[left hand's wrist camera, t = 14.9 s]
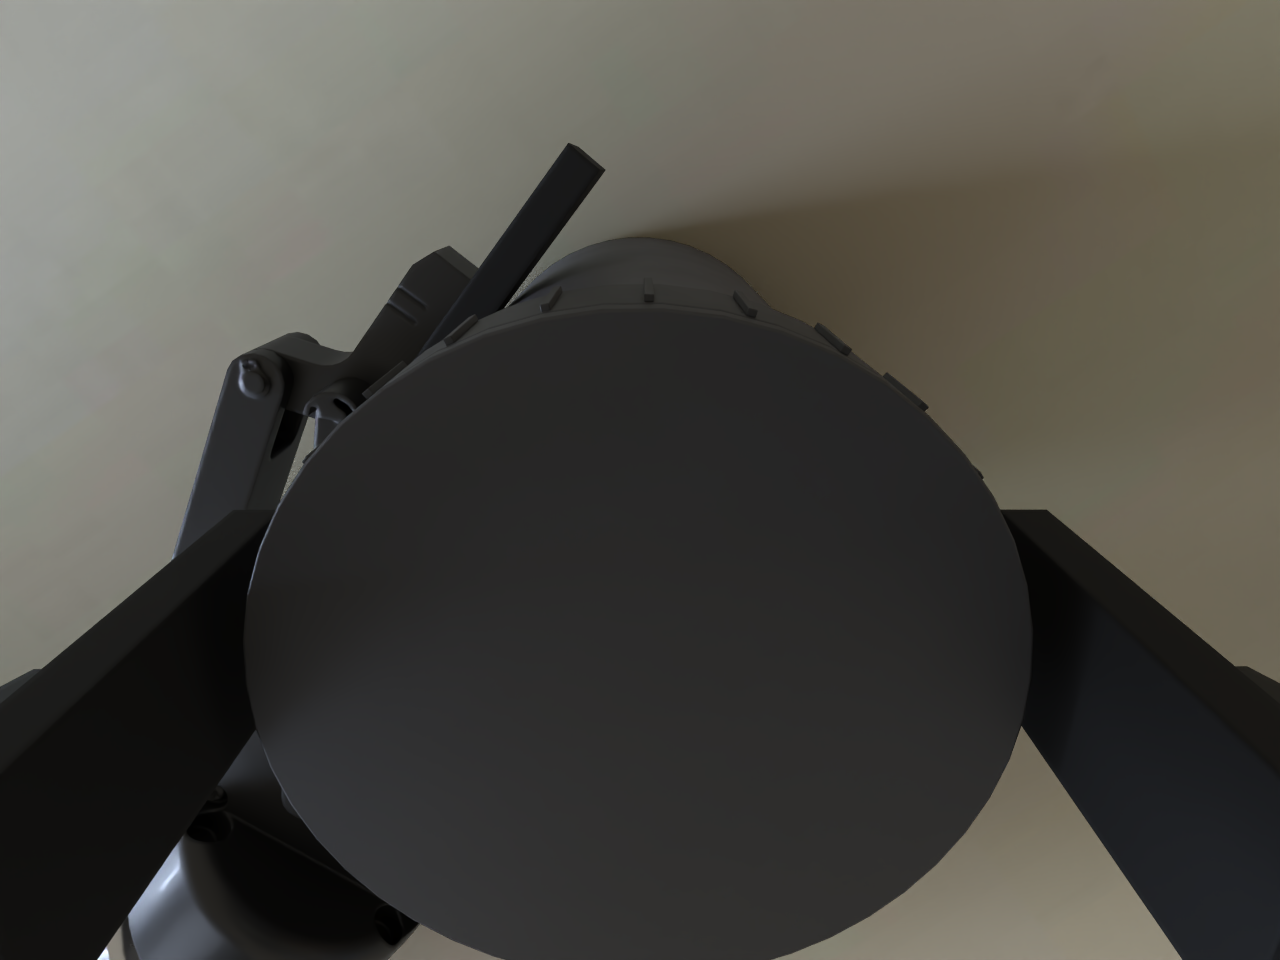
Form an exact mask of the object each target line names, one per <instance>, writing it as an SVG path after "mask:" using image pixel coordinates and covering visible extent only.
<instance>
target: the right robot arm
mask: <svg viewBox="0 0 1280 960" xmlns="http://www.w3.org/2000/svg"><path fill="white" fill-rule="evenodd" d="M604 172H605V169H604V168H603V167H602V166H600V165H599V164H598V163H597V162H596V161H594V160H593V159H592V158H591V157H590V156H589V155H587V154H586V153H585V152H584V151H583V150H582V149H580V148H579V147H577V146H575V145H572V144H570V143H568V144H567V146H566V147H565V148H564V150H563V151H562V153H561V154H560V155H559V157H558V158H557V160H556V161H555V162H554V164H553V165H552V167H551V168H550V169H549V171H548V172H547V174H546V175H545V176H544V178H543V179H542V181H541V182H540V183H539V185H538V186H537V188H536V189H535V190H534V192H533V193H532V195H531V196H530V197H529V199H528V200H527V202H526V203H525V204H524V206H523V207H522V209H521V210H520V212H519V213H518V214H517V216H516V217H515V219H514V220H513V221H512V223H511V224H510V226H509V227H508V228H507V230H506V231H505V233H504V234H503V235H502V237H501V238H500V240H499V241H498V242H497V244H496V245H495V247H494V248H493V249H492V251H491V252H490V254H489V255H488V256H487V258H486V259H485V261H484V262H483V263H482V265H481V266H480V268H477V267H476V266H475V265H473V264H472V263H471V262H470V261H468V260H467V259H466V258H464V257H463V256H462V255H461V254H459V253H458V252H457V251H456V250H454V249H453V248H452V247H450V246H447V247H445V248H442V249H440V250H437V251H435V252H433V253H431V254H430V255H428V256H426V257H425V258H423V259H421V260H420V261H418V262H417V263H415V264H413V265H412V267H411V268H410V269H409V271H408V272H407V274H406V275H405V277H404V278H403V280H402V281H401V283H400V284H399V286H398V288H397V289H396V290H395V291H394V293H393V294H392V296H391V297H390V299H389V300H388V302H387V304H386V305H385V306H384V307H383V309H382V310H381V312H380V313H379V315H378V316H377V318H376V319H375V321H374V322H373V324H372V325H371V326H370V328H369V329H368V331H367V332H366V334H365V335H364V337H363V338H362V340H361V341H360V343H359V344H358V345H357V347H356V348H355V350H354V351H353V352H342V351H337V350H334V349H331V348H327V347H324V346H321V345H320V344H319V343H318V342H317V340H315V339H314V338H312V337H311V336H309V335H308V334H304V333H300V332H295V333H288V334H286V335H284V336H282V337H279V338H277V339H275V340H273V341H271V342H269V343H266V344H264V345H262V346H260V347H258V348H256V349H253V350H251V351H249V352H247V353H245V354H243V355H241V356H239V357H238V358H236V359H235V360H233V361H232V362H231V364H230V366H229V368H228V370H227V373H226V376H225V379H224V383H223V386H222V390H221V393H220V397H219V400H218V403H217V407H216V410H215V414H214V417H213V420H212V424H211V427H210V431H209V434H208V437H207V441H206V444H205V448H204V451H203V455H202V458H201V461H200V465H199V468H198V472H197V475H196V478H195V482H194V485H193V489H192V492H191V495H190V499H189V502H188V506H187V509H186V513H185V516H184V519H183V523H182V526H181V530H180V533H179V536H178V540H177V543H176V547H175V550H174V553H173V557H172V560H174V559H175V558H176V557H177V556H178V555H180V554H181V553H182V552H183V551H184V550H186V549H187V548H188V547H189V546H190V545H192V544H193V543H194V542H195V541H196V540H198V539H199V538H200V537H201V536H202V535H204V534H205V533H206V532H207V531H208V530H210V529H211V528H212V527H213V526H214V525H216V524H217V523H218V522H219V521H220V520H222V519H223V518H224V517H225V516H226V515H228V514H229V513H230V512H231V511H232V510H276V508H277V506H278V504H279V502H280V499H281V496H282V493H283V490H284V487H285V484H286V481H287V478H288V475H289V472H290V469H291V466H292V463H293V460H294V457H295V454H296V451H297V448H298V445H299V442H300V440H301V437H302V434H303V431H304V428H305V425H306V422H307V419H308V416H309V417H312V418H315V435H314V449H315V448H316V447H317V446H319V445H320V444H321V443H322V442H323V441H324V440H325V439H326V438H327V437H328V435H329V434H330V433H331V432H332V431H333V430H334V429H335V428H336V426H337V425H338V424H339V423H340V422H341V421H342V420H344V419H345V418H346V417H347V416H348V415H350V414H351V413H352V412H353V411H354V410H355V409H357V408H358V407H359V406H360V405H361V404H363V403H364V402H365V401H366V400H367V399H366V397H365V396H364V395H363V394H362V393H363V392H364V391H365V390H367V389H368V388H369V387H370V386H372V385H373V384H374V383H375V382H377V381H378V380H379V379H380V378H382V377H383V376H384V375H385V374H387V373H388V372H389V371H390V370H392V369H393V368H394V367H395V366H397V365H398V364H399V363H400V362H402V361H404V362H405V363H406V364H407V366H408V365H409V364H410V363H411V362H413V361H414V360H415V359H416V358H417V357H419V356H420V355H421V354H422V353H423V352H425V351H426V350H427V349H429V348H431V347H432V346H434V345H436V344H437V343H439V342H440V341H442V340H443V339H444V338H445V337H446V336H447V335H449V334H450V333H451V332H452V331H453V330H454V329H456V328H457V327H458V326H459V325H460V324H461V323H463V322H464V321H465V320H466V319H467V318H469V317H470V316H472V315H474V314H476V316H477V318H478V320H480V319H482V318H484V317H486V316H489V315H491V314H493V313H495V312H498V311H500V310H502V309H504V307H505V306H506V305H507V303H508V302H509V301H510V299H511V298H512V296H513V295H514V294H515V292H516V291H517V290H518V288H519V287H520V286H521V284H522V283H523V282H524V280H525V279H526V277H527V276H528V275H529V273H530V272H531V271H532V269H533V268H534V267H535V265H536V264H537V263H538V261H539V260H540V258H541V257H542V256H543V254H544V253H545V252H546V250H547V249H548V248H549V246H550V245H551V244H552V242H553V241H554V239H555V238H556V237H557V235H558V234H559V233H560V231H561V230H562V229H563V227H564V226H565V225H566V223H567V222H568V220H569V219H570V218H571V216H572V215H573V214H574V212H575V211H576V210H577V208H578V207H579V206H580V204H581V203H582V201H583V200H584V199H585V197H586V196H587V195H588V193H589V192H590V191H591V189H592V188H593V187H594V185H595V184H596V182H597V181H598V180H599V178H600V177H601V176H602V174H603V173H604ZM172 560H171V561H172ZM419 924H420V923H418V922H416V921H414V920H413V919H411V918H410V917H408V916H407V915H405V914H404V913H402V912H400V911H399V910H397V909H396V908H394V907H393V906H391V905H390V904H388V903H387V902H385V901H384V900H382V899H381V898H379V897H378V896H377V895H375V894H374V893H373V892H372V891H371V890H369V889H368V888H367V887H366V886H365V885H363V884H362V883H361V882H360V881H359V880H357V879H356V878H355V877H354V876H353V875H351V874H350V873H349V872H348V871H347V870H345V869H344V867H343V866H342V865H341V864H340V863H339V862H338V861H337V860H336V859H335V858H334V857H333V856H332V855H331V854H330V853H329V852H328V851H327V850H326V848H325V847H324V846H323V845H322V844H321V843H320V842H319V841H318V840H317V839H316V838H315V836H314V835H313V834H312V832H311V831H310V830H309V828H308V827H307V825H306V824H305V823H304V821H303V820H302V819H301V817H300V816H299V815H298V813H297V812H296V811H295V809H294V808H293V806H292V805H291V804H290V802H289V800H288V798H287V796H286V794H285V793H284V791H283V789H282V787H281V785H280V784H279V782H278V780H277V778H276V776H275V774H274V773H273V771H272V769H271V767H270V765H269V762H268V759H267V757H266V754H265V751H264V749H263V746H262V744H261V741H260V738H259V736H258V733H257V730H255V732H254V733H253V734H252V736H251V737H250V739H249V740H248V742H247V743H246V745H245V746H244V748H243V749H242V750H241V752H240V753H239V755H238V756H237V758H236V759H235V761H234V762H233V763H232V765H231V766H230V768H229V769H228V771H227V772H226V774H225V775H224V777H223V778H222V779H221V781H220V782H219V784H218V785H217V787H216V788H215V790H214V791H213V793H212V794H211V795H210V797H209V798H208V800H207V801H206V803H205V804H204V806H203V807H202V809H201V810H200V811H199V813H198V814H197V816H196V817H195V819H194V820H193V822H192V823H191V825H190V826H189V827H188V829H187V830H186V832H185V833H184V835H183V836H182V838H181V839H180V840H179V842H178V843H177V845H176V846H175V848H174V849H173V851H172V852H171V854H170V855H169V856H168V858H167V859H166V861H165V862H164V864H163V865H162V867H161V868H160V870H159V871H158V872H157V874H156V875H155V877H154V878H153V880H152V881H151V883H150V884H149V886H148V887H147V888H146V890H145V891H144V893H143V894H142V896H141V897H140V899H139V900H138V902H137V903H136V904H135V906H134V907H133V909H132V910H131V912H130V913H129V915H128V916H127V917H126V919H125V920H124V922H123V923H122V925H121V926H120V928H119V929H118V931H117V932H116V933H115V935H114V936H113V938H112V939H111V941H110V942H109V944H108V945H107V947H106V948H105V949H104V951H103V952H102V954H101V955H100V957H99V958H98V960H388V959H389V958H390V957H391V956H392V955H393V954H394V952H395V951H396V950H397V949H398V948H399V947H400V946H401V945H402V944H403V943H404V942H405V941H406V940H407V939H408V938H409V937H410V935H411V934H412V933H413V932H414V931H415V929H416V928H417V927H418V926H419Z"/></svg>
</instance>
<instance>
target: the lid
mask: <svg viewBox="0 0 1280 960" xmlns="http://www.w3.org/2000/svg"><path fill="white" fill-rule="evenodd" d="M851 350H852V349H851V348H850V347H849V346H847V345H846V344H845V343H844V342H843V341H841V340H840V339H839V338H838V337H837V336H835V335H834V334H833V333H832V332H831V331H829V330H828V329H827V328H826V327H825V326H823V325H821V324H820V323H817V325H816V326H815V328H813V327H811V326H810V325H808V324H806V323H805V322H803V321H800V320H798V319H796V318H793V317H791V316H788V315H786V314H783V313H781V312H779V311H776V310H774V309H771V308H769V307H767V306H764V305H762V304H759V303H756V302H753V301H750V300H749V299H748V298H747V297H746V296H745V295H744V293H743V292H741V291H737V290H735V291H734V294H733V296H730V295H726V294H722V293H718V292H715V291H711V290H704V289H696V288H688V287H680V286H672V285H663V284H653V281H652V278H644V284H615V285H602V286H595V287H589V288H582V289H575V290H568V291H562V288H561V286H556V287H553V288H552V289H551V291H550V292H549V293H548V295H546V296H543V297H539V298H536V299H532V300H529V301H525V302H522V303H518V304H515V305H511V306H509V307H507V308H504V309H502V310H500V311H498V312H495V313H493V314H491V315H489V316H486V317H484V318H482V319H480V320H478V318H477V316H476V314H474V315H472V316H470V317H469V318H467V319H466V320H465V321H464V322H463V323H461V324H460V325H459V326H458V327H457V328H456V329H454V330H453V331H452V332H451V333H450V334H449V335H447V336H446V337H445V338H444V339H443V340H442V341H440V342H439V343H437V344H436V345H434V346H432V347H431V348H429V349H427V350H426V351H425V352H423V353H422V354H421V355H420V356H419V357H417V358H416V359H415V360H414V361H413V362H411V363H410V364H409V365H408V366H407V364H406V363H405V362H404V361H402V362H400V363H399V364H398V365H397V366H395V367H394V368H393V369H392V370H390V371H389V372H388V373H387V374H385V375H384V376H383V377H382V378H380V379H379V380H378V381H377V382H375V383H374V384H373V385H372V386H370V387H369V388H368V389H367V390H365V391H364V392H363V393H362V394H363V395H364V396H365V397H366V399H367V400H366V401H365V402H364V403H363V404H361V405H360V406H359V407H358V408H357V409H355V410H354V411H353V412H352V413H351V414H350V415H348V416H347V417H346V418H345V419H344V420H342V421H341V422H340V423H339V424H338V425H337V426H336V428H335V429H334V430H333V431H332V432H331V433H330V434H329V435H328V437H327V438H326V439H325V440H324V441H323V442H322V443H321V444H320V445H319V446H317V447H316V448H315V449H314V450H313V451H312V452H310V453H309V454H308V455H307V456H306V457H305V459H304V460H303V463H304V465H303V466H302V468H301V469H300V471H299V472H298V474H297V476H296V477H295V479H294V480H293V482H292V483H291V485H290V487H289V488H288V490H287V491H286V493H285V494H284V496H283V498H282V499H281V501H280V502H279V504H278V506H277V508H276V510H275V513H274V515H273V517H272V520H271V522H270V524H269V526H268V529H267V531H266V533H265V536H264V538H263V540H262V543H261V545H260V547H259V550H258V554H257V558H256V562H255V566H254V569H253V573H252V577H251V581H250V585H249V589H248V593H247V602H246V612H245V623H244V634H243V649H244V664H245V680H246V688H247V692H248V697H249V701H250V706H251V710H252V715H253V719H254V724H255V728H256V730H257V733H258V736H259V738H260V741H261V744H262V746H263V749H264V751H265V754H266V757H267V759H268V762H269V765H270V767H271V769H272V771H273V773H274V774H275V776H276V778H277V780H278V782H279V784H280V785H281V787H282V789H283V791H284V793H285V794H286V796H287V798H288V800H289V802H290V804H291V805H292V806H293V808H294V809H295V811H296V812H297V813H298V815H299V816H300V817H301V819H302V820H303V821H304V823H305V824H306V825H307V827H308V828H309V830H310V831H311V832H312V834H313V835H314V836H315V838H316V839H317V840H318V841H319V842H320V843H321V844H322V845H323V846H324V847H325V848H326V850H327V851H328V852H329V853H330V854H331V855H332V856H333V857H334V858H335V859H336V860H337V861H338V862H339V863H340V864H341V865H342V866H343V867H344V869H345V870H347V871H348V872H349V873H350V874H351V875H353V876H354V877H355V878H356V879H357V880H359V881H360V882H361V883H362V884H363V885H365V886H366V887H367V888H368V889H369V890H371V891H372V892H373V893H374V894H375V895H377V896H378V897H379V898H381V899H382V900H384V901H385V902H387V903H388V904H390V905H391V906H393V907H394V908H396V909H397V910H399V911H400V912H402V913H404V914H405V915H407V916H408V917H410V918H411V919H413V920H414V921H416V922H418V923H420V924H422V925H424V926H426V927H428V928H430V929H432V930H433V931H435V932H437V933H439V934H441V935H443V936H445V937H447V938H449V939H451V940H453V941H455V942H458V943H461V944H463V945H466V946H468V947H471V948H473V949H476V950H478V951H481V952H484V953H486V954H489V955H491V956H494V957H498V958H501V959H505V960H772V959H775V958H778V957H782V956H785V955H788V954H792V953H794V952H796V951H799V950H801V949H804V948H806V947H809V946H811V945H813V944H816V943H818V942H821V941H823V940H825V939H828V938H830V937H832V936H834V935H836V934H838V933H840V932H842V931H843V930H845V929H847V928H849V927H851V926H853V925H855V924H856V923H858V922H860V921H862V920H864V919H866V918H868V917H869V916H871V915H872V914H874V913H875V912H877V911H878V910H880V909H881V908H882V907H884V906H885V905H887V904H888V903H890V902H891V901H893V900H894V899H896V898H897V897H898V896H900V895H901V894H903V893H904V892H905V891H907V890H908V889H909V888H910V887H911V886H912V885H913V884H915V883H916V882H917V881H918V880H919V879H920V878H922V877H923V876H924V875H925V874H926V873H927V872H928V871H930V870H931V869H932V868H933V867H934V866H935V865H937V863H938V862H939V861H940V860H941V859H942V858H943V857H944V856H945V855H946V854H947V852H948V851H949V850H950V849H951V848H952V847H953V846H954V845H955V844H956V842H957V841H958V840H959V839H960V838H961V837H962V836H963V835H964V834H965V832H966V831H967V830H968V828H969V827H970V825H971V824H972V822H973V821H974V820H975V818H976V817H977V815H978V814H979V812H980V811H981V810H982V808H983V807H984V805H985V804H986V802H987V801H988V800H989V798H990V796H991V794H992V792H993V791H994V789H995V787H996V785H997V783H998V781H999V779H1000V777H1001V775H1002V773H1003V771H1004V769H1005V767H1006V765H1007V763H1008V762H1009V759H1010V757H1011V754H1012V751H1013V748H1014V745H1015V742H1016V739H1017V737H1018V734H1019V731H1020V728H1021V725H1022V722H1023V719H1024V714H1025V709H1026V704H1027V698H1028V693H1029V688H1030V683H1031V677H1032V652H1033V626H1032V618H1031V610H1030V601H1029V593H1028V585H1027V582H1026V579H1025V575H1024V572H1023V568H1022V565H1021V561H1020V558H1019V554H1018V551H1017V547H1016V544H1015V541H1014V538H1013V536H1012V534H1011V532H1010V530H1009V528H1008V526H1007V524H1006V521H1005V519H1004V517H1003V515H1002V513H1001V511H1000V509H999V507H998V504H997V502H996V500H995V498H994V496H993V495H992V493H991V492H990V490H989V489H988V487H987V486H986V484H985V483H984V481H983V480H982V479H983V478H984V477H983V476H982V474H981V472H980V471H979V470H978V469H977V468H975V467H974V466H973V465H972V464H971V462H970V461H969V459H968V458H967V456H966V455H965V454H964V453H963V452H962V451H961V450H960V448H959V447H958V446H957V445H956V444H955V443H954V442H953V441H952V440H951V439H950V438H949V437H948V436H947V435H946V433H945V432H944V431H943V430H942V429H941V428H940V427H939V426H938V425H937V424H936V423H935V422H934V421H933V419H932V418H931V417H930V416H929V415H927V414H926V413H925V412H924V411H925V410H926V409H928V406H927V405H926V404H925V403H924V402H923V401H922V400H921V399H919V398H918V397H917V396H916V395H914V394H913V393H912V392H911V391H909V390H908V389H907V388H906V387H905V386H903V385H902V384H901V383H900V382H898V381H897V380H896V379H895V378H893V377H892V376H891V375H890V374H889V373H886V374H885V375H884V376H883V377H882V376H881V375H880V374H879V373H878V372H876V371H875V370H874V369H873V368H871V367H870V366H869V365H868V364H866V363H865V362H864V361H863V360H861V359H860V358H859V357H858V356H856V355H855V354H854V353H853V352H851Z"/></svg>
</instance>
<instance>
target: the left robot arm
mask: <svg viewBox="0 0 1280 960" xmlns="http://www.w3.org/2000/svg"><path fill="white" fill-rule="evenodd" d="M1000 511H1001V513H1002V515H1003V517H1004V519H1005V521H1006V524H1007V526H1008V528H1009V530H1010V532H1011V534H1012V536H1013V538H1014V541H1015V544H1016V547H1017V551H1018V554H1019V558H1020V561H1021V565H1022V568H1023V572H1024V575H1025V579H1026V582H1027V585H1028V593H1029V601H1030V610H1031V618H1032V626H1033V652H1032V677H1031V683H1030V688H1029V693H1028V698H1027V704H1026V709H1025V714H1024V719H1023V722H1022V725H1021V726H1022V727H1023V729H1024V730H1025V732H1026V733H1027V734H1028V736H1029V737H1030V739H1031V740H1032V742H1033V743H1034V745H1035V746H1036V748H1037V749H1038V750H1039V752H1040V753H1041V755H1042V756H1043V758H1044V759H1045V761H1046V762H1047V763H1048V765H1049V766H1050V768H1051V769H1052V771H1053V772H1054V774H1055V775H1056V777H1057V778H1058V779H1059V781H1060V782H1061V784H1062V785H1063V787H1064V788H1065V790H1066V791H1067V793H1068V794H1069V795H1070V797H1071V798H1072V800H1073V801H1074V803H1075V804H1076V806H1077V807H1078V809H1079V810H1080V811H1081V813H1082V814H1083V816H1084V817H1085V819H1086V820H1087V822H1088V823H1089V825H1090V826H1091V827H1092V829H1093V830H1094V832H1095V833H1096V835H1097V836H1098V838H1099V839H1100V840H1101V842H1102V843H1103V845H1104V846H1105V848H1106V849H1107V851H1108V852H1109V854H1110V855H1111V856H1112V858H1113V859H1114V861H1115V862H1116V864H1117V865H1118V867H1119V868H1120V870H1121V871H1122V872H1123V874H1124V875H1125V877H1126V878H1127V880H1128V881H1129V883H1130V884H1131V886H1132V887H1133V888H1134V890H1135V891H1136V893H1137V894H1138V896H1139V897H1140V899H1141V900H1142V902H1143V903H1144V904H1145V906H1146V907H1147V909H1148V910H1149V912H1150V913H1151V915H1152V916H1153V917H1154V919H1155V920H1156V922H1157V923H1158V925H1159V926H1160V928H1161V929H1162V931H1163V932H1164V933H1165V935H1166V936H1167V938H1168V939H1169V941H1170V942H1171V944H1172V945H1173V947H1174V948H1175V949H1176V951H1177V952H1178V954H1179V955H1180V957H1181V958H1182V960H1280V683H1278V682H1276V681H1274V680H1272V679H1270V678H1268V677H1266V676H1265V675H1263V674H1261V673H1259V672H1257V671H1255V670H1253V669H1251V668H1249V667H1247V666H1234V665H1233V664H1232V663H1230V662H1229V661H1228V660H1227V659H1226V658H1224V657H1223V656H1222V655H1221V654H1219V653H1218V652H1217V651H1216V650H1215V649H1213V648H1212V647H1211V646H1210V645H1209V644H1207V643H1206V642H1205V641H1204V640H1203V639H1201V638H1200V637H1199V636H1198V635H1197V634H1195V633H1194V632H1193V631H1192V630H1191V629H1189V628H1188V627H1187V626H1186V625H1185V624H1183V623H1182V622H1181V621H1180V620H1179V619H1177V618H1176V617H1175V616H1174V615H1173V614H1171V613H1170V612H1169V611H1168V610H1167V609H1165V608H1164V607H1163V606H1162V605H1161V604H1159V603H1158V602H1157V601H1156V600H1155V599H1153V598H1152V597H1151V596H1150V595H1149V594H1147V593H1146V592H1145V591H1144V590H1143V589H1141V588H1140V587H1139V586H1138V585H1137V584H1135V583H1134V582H1133V581H1132V580H1131V579H1129V578H1128V577H1127V576H1126V575H1125V574H1123V573H1122V572H1121V571H1120V570H1119V569H1117V568H1116V567H1115V566H1114V565H1113V564H1111V563H1110V562H1109V561H1108V560H1106V559H1105V558H1104V557H1103V556H1102V555H1100V554H1099V553H1098V552H1097V551H1096V550H1094V549H1093V548H1092V547H1091V546H1090V545H1088V544H1087V543H1086V542H1085V541H1084V540H1082V539H1081V538H1080V537H1079V536H1078V535H1076V534H1075V533H1074V532H1073V531H1072V530H1070V529H1069V528H1068V527H1067V526H1066V525H1064V524H1063V523H1062V522H1061V521H1060V520H1058V519H1057V518H1056V517H1055V516H1054V515H1052V514H1051V513H1050V512H1049V511H1048V510H1000ZM274 513H275V510H232V511H231V512H230V513H229V514H228V515H226V516H225V517H224V518H223V519H222V520H220V521H219V522H218V523H217V524H216V525H214V526H213V527H212V528H211V529H210V530H208V531H207V532H206V533H205V534H204V535H202V536H201V537H200V538H199V539H198V540H196V541H195V542H194V543H193V544H192V545H190V546H189V547H188V548H187V549H186V550H184V551H183V552H182V553H181V554H180V555H178V556H177V557H176V558H175V559H174V560H172V561H171V562H170V563H169V564H167V565H166V566H165V567H164V568H163V569H161V570H160V571H159V572H158V573H157V574H155V575H154V576H153V577H152V578H151V579H149V580H148V581H147V582H146V583H145V584H143V585H142V586H141V587H140V588H139V589H137V590H136V591H135V592H134V593H133V594H131V595H130V596H129V597H128V598H127V599H125V600H124V601H123V602H122V603H121V604H119V605H118V606H117V607H116V608H115V609H113V610H112V611H111V612H110V613H109V614H107V615H106V616H105V617H104V618H103V619H101V620H100V621H99V622H98V623H97V624H95V625H94V626H93V627H92V628H91V629H89V630H88V631H87V632H86V633H85V634H83V635H82V636H81V637H80V638H79V639H77V640H76V641H75V642H74V643H73V644H71V645H70V646H69V647H68V648H67V649H65V650H64V651H63V652H62V653H61V654H59V655H58V656H57V657H56V658H54V659H53V660H52V661H51V662H50V663H48V664H47V665H46V666H45V667H44V668H42V669H33V670H31V671H29V672H28V673H26V674H24V675H22V676H20V677H18V678H16V679H14V680H12V681H10V682H8V683H7V684H5V685H3V686H1V687H0V960H98V958H99V957H100V955H101V954H102V952H103V951H104V949H105V948H106V947H107V945H108V944H109V942H110V941H111V939H112V938H113V936H114V935H115V933H116V932H117V931H118V929H119V928H120V926H121V925H122V923H123V922H124V920H125V919H126V917H127V916H128V915H129V913H130V912H131V910H132V909H133V907H134V906H135V904H136V903H137V902H138V900H139V899H140V897H141V896H142V894H143V893H144V891H145V890H146V888H147V887H148V886H149V884H150V883H151V881H152V880H153V878H154V877H155V875H156V874H157V872H158V871H159V870H160V868H161V867H162V865H163V864H164V862H165V861H166V859H167V858H168V856H169V855H170V854H171V852H172V851H173V849H174V848H175V846H176V845H177V843H178V842H179V840H180V839H181V838H182V836H183V835H184V833H185V832H186V830H187V829H188V827H189V826H190V825H191V823H192V822H193V820H194V819H195V817H196V816H197V814H198V813H199V811H200V810H201V809H202V807H203V806H204V804H205V803H206V801H207V800H208V798H209V797H210V795H211V794H212V793H213V791H214V790H215V788H216V787H217V785H218V784H219V782H220V781H221V779H222V778H223V777H224V775H225V774H226V772H227V771H228V769H229V768H230V766H231V765H232V763H233V762H234V761H235V759H236V758H237V756H238V755H239V753H240V752H241V750H242V749H243V748H244V746H245V745H246V743H247V742H248V740H249V739H250V737H251V736H252V734H253V733H254V732H255V730H256V728H255V724H254V719H253V715H252V710H251V706H250V701H249V697H248V692H247V688H246V680H245V664H244V649H243V634H244V623H245V612H246V602H247V593H248V589H249V585H250V581H251V577H252V573H253V569H254V566H255V562H256V558H257V554H258V550H259V547H260V545H261V543H262V540H263V538H264V536H265V533H266V531H267V529H268V526H269V524H270V522H271V520H272V517H273V515H274Z"/></svg>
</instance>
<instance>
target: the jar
mask: <svg viewBox="0 0 1280 960" xmlns="http://www.w3.org/2000/svg"><path fill="white" fill-rule="evenodd" d="M644 278H652V281H653V284H663V285H672V286H680V287H688V288H696V289H704V290H711V291H715V292H718V293H722V294H726V295H730V296H733V294H734V291H735V290H737V291H741V292H743V293H744V295H745V296H746V297H747V298H748V299H749V300H750V301H753V302H756V303H759V304H762V305H764V306H767V307H769V308H771V307H770V306H769V305H768V304H767V303H766V302H765V301H764V300H763V299H762V298H761V297H760V296H759V295H758V294H757V293H756V292H755V291H754V290H753V288H752V287H751V286H750V285H749V284H748V283H747V282H746V281H745V280H744V279H743V278H742V277H741V276H739V275H738V274H737V273H736V272H735V271H733V270H732V269H731V268H730V267H728V266H727V265H726V264H724V263H722V262H721V261H719V260H718V259H716V258H714V257H713V256H711V255H709V254H707V253H705V252H703V251H700V250H698V249H696V248H693V247H691V246H688V245H684V244H681V243H677V242H674V241H670V240H663V239H655V238H623V239H615V240H608V241H605V242H601V243H597V244H594V245H590V246H587V247H585V248H583V249H580V250H578V251H576V252H573V253H571V254H569V255H567V256H566V257H564V258H562V259H561V260H559V261H557V262H556V263H554V264H553V265H551V266H550V267H549V268H547V269H546V270H545V271H544V272H543V273H541V274H540V275H539V276H538V277H536V278H535V279H534V280H533V281H532V282H531V283H530V284H529V285H528V287H527V288H526V289H525V290H524V291H523V292H522V293H521V294H520V295H519V296H518V297H517V298H516V299H515V300H514V301H513V302H512V303H511V304H510V305H509V306H511V305H515V304H518V303H522V302H525V301H529V300H532V299H536V298H539V297H543V296H546V295H548V293H549V292H550V291H551V289H552V288H553V287H556V286H561V288H562V291H568V290H575V289H582V288H589V287H595V286H602V285H615V284H644ZM509 306H508V307H509ZM771 309H772V308H771Z"/></svg>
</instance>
